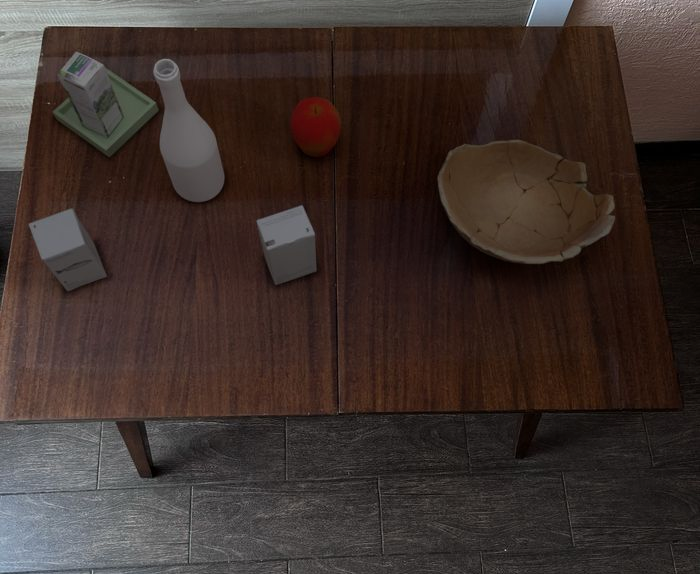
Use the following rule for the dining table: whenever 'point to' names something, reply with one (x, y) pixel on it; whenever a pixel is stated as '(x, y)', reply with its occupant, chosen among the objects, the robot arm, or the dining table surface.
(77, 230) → the white packaging box
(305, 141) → the apple
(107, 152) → the tray
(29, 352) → the dining table surface
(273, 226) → the cosmetic box
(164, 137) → the wine bottle
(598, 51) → the dining table surface
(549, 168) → the ceramic bowl
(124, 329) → the dining table surface
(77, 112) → the syrup box
